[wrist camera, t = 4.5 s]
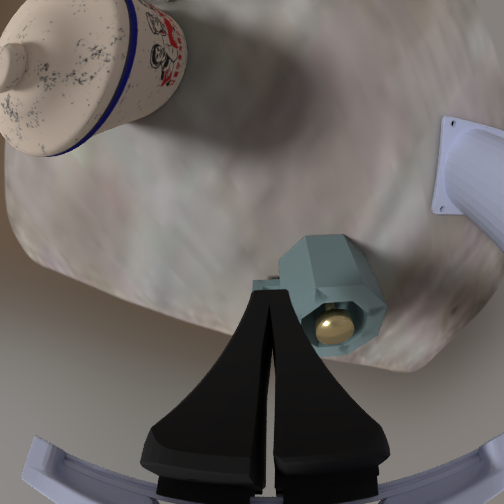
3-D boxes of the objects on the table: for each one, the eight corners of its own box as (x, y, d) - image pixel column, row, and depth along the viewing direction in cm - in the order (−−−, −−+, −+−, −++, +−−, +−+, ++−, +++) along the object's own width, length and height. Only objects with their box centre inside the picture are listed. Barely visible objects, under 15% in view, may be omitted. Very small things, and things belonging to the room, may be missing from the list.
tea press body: (368, 233, 21) (394, 281, 16) (356, 300, 24) (372, 351, 19) (250, 238, 21) (244, 290, 16) (257, 306, 25) (254, 360, 20)
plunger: (348, 262, 21) (365, 311, 16) (343, 296, 23) (356, 346, 18) (302, 264, 21) (310, 316, 17) (301, 299, 23) (307, 350, 18)
